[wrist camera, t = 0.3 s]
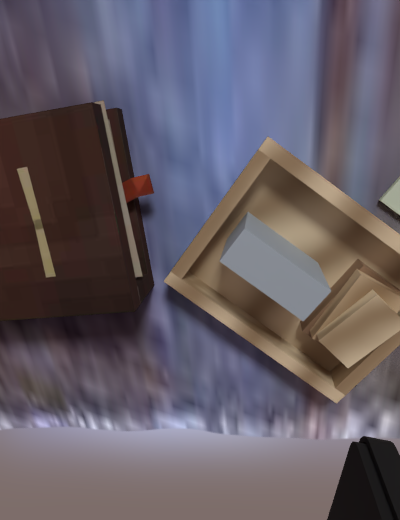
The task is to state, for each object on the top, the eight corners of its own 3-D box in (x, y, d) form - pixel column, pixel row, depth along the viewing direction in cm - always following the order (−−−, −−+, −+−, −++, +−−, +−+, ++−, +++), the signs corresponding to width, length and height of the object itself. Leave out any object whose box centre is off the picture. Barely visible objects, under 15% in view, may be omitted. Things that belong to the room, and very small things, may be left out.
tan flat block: (401, 290, 34) (409, 299, 33) (341, 350, 37) (345, 361, 35) (357, 258, 34) (363, 265, 32) (300, 321, 37) (302, 331, 35)
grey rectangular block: (318, 262, 35) (331, 291, 28) (295, 288, 36) (303, 321, 29) (247, 211, 34) (244, 228, 28) (227, 238, 36) (219, 261, 29)
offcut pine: (402, 318, 32) (407, 325, 31) (345, 360, 34) (347, 368, 32) (372, 289, 31) (376, 295, 30) (316, 333, 33) (318, 340, 32)
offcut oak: (400, 294, 33) (407, 301, 31) (351, 353, 35) (355, 363, 34) (356, 268, 33) (360, 274, 31) (309, 330, 35) (312, 338, 33)
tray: (448, 271, 34) (465, 283, 31) (330, 384, 39) (336, 403, 36) (267, 136, 33) (267, 136, 30) (170, 270, 38) (163, 281, 35)
